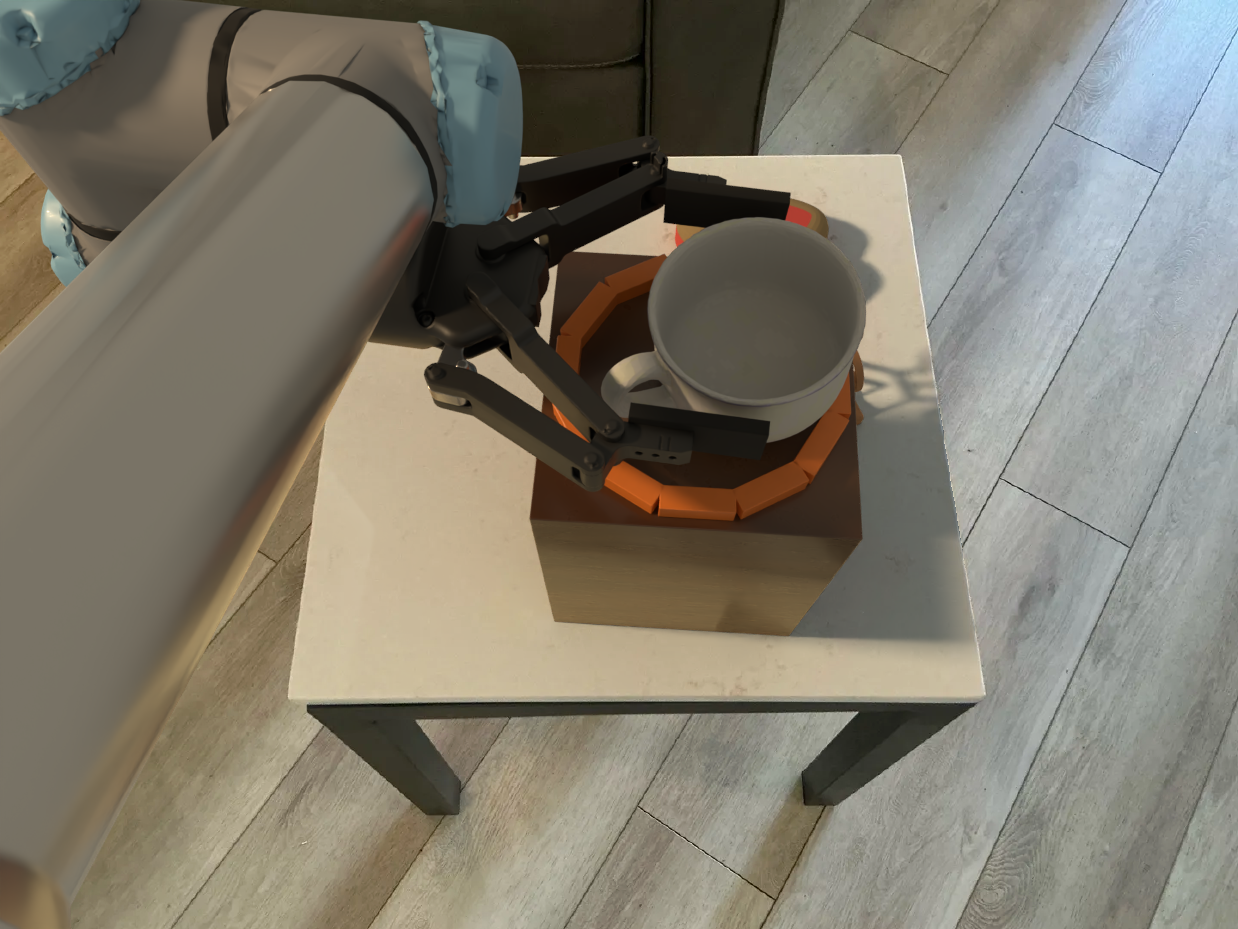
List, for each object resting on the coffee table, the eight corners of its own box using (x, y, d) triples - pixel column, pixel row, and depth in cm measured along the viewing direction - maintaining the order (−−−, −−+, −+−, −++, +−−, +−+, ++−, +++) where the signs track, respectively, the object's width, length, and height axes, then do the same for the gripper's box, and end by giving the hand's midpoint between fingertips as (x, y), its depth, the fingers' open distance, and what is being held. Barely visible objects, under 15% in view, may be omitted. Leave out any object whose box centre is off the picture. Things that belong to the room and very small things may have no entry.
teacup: (813, 282, 53) (820, 189, 46) (882, 436, 48) (902, 360, 41) (590, 350, 53) (563, 269, 46) (637, 510, 49) (615, 447, 41)
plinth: (789, 636, 68) (863, 539, 48) (553, 621, 68) (529, 519, 48) (785, 426, 75) (848, 265, 55) (573, 413, 75) (559, 250, 55)
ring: (851, 528, 48) (856, 520, 47) (541, 509, 48) (539, 501, 47) (838, 273, 55) (843, 260, 54) (567, 258, 55) (566, 245, 54)
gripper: (436, 141, 54) (781, 182, 53) (319, 517, 44) (743, 579, 43) (410, 37, 48) (806, 82, 46) (265, 453, 37) (768, 524, 36)
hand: (777, 321), depth 45 cm, fingers open, 13 cm apart
